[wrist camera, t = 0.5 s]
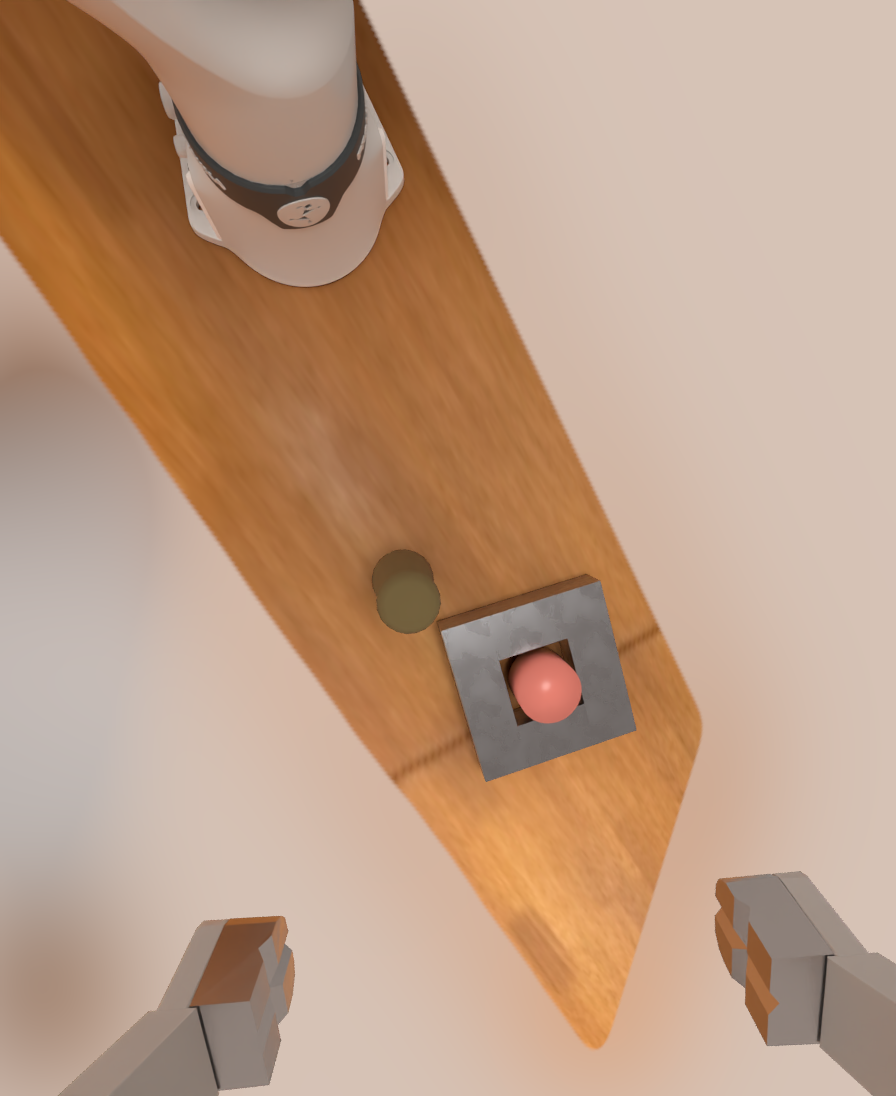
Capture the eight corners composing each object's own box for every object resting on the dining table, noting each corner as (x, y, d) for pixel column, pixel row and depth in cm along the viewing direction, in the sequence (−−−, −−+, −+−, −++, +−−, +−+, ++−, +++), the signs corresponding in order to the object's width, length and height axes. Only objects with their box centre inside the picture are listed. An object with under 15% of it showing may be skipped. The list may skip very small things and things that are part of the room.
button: (501, 658, 54) (511, 673, 50) (558, 640, 54) (573, 652, 51) (517, 713, 55) (528, 731, 51) (573, 694, 55) (588, 711, 52)
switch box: (436, 621, 55) (440, 631, 51) (586, 574, 56) (600, 580, 53) (479, 763, 57) (485, 782, 54) (621, 715, 59) (636, 730, 55)
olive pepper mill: (443, 563, 54) (460, 585, 43) (419, 619, 54) (430, 654, 44) (386, 540, 53) (388, 556, 42) (362, 597, 53) (358, 628, 43)
